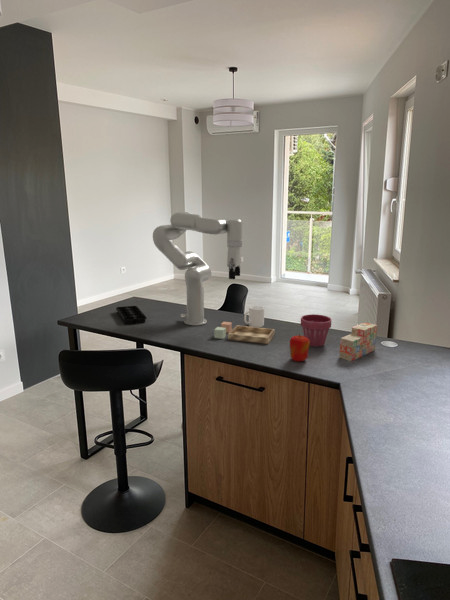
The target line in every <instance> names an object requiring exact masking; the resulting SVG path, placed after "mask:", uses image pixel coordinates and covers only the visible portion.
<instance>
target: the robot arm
mask: <svg viewBox="0 0 450 600" xmlns="http://www.w3.org/2000/svg"><path fill="white" fill-rule="evenodd" d="M169 219H170V222H169V223H170V224H164V225H159V226H156V228H155V229H153V232H152V241H153V244H154V246H155V247H156V249H158V250H159V252H161V253H162V255H164V256H165V257H166V258H167V259H168V261H169V262H170V263H171V264H173V265H174V267H176V268H177V269H178V270H180V271H185V273H184V282H185V286H186V287H185V289H186V291H185V292H186V314H185V313H180V319H184V320H183V323H184V324H185V325H187V326H203V325H206V324H207V322H208V321H207V319H206V318H205V290H204V286H203V282H207V281H208V280H209V279H210V278H211V276H212V270H211V267H210V266H209V265H208V264H207V262H205V261H204V260H203V259H202V258H201V257H200V256H199V255H198V254H197V253H195V252H193V251H183V250H182V249H181V248H179V247H178V245H177V244H175V243H174V242H172V241H173V240H177V239H178V238H180V237H181V236H182V235H183V234H185V232H186V231H193V232H198V233H202V234H207V235H208V234H209V235H221V234H223V235H224V234H226V239H227V240H226V241H227V242H226V243H227V244H226V247H227V259H226V265H227V267H228V279H229V280H235V279H236V277H240V276H241V261H242V260H241V259H242V258H241V256H242V255H241V248H243V222H242V220H241V219H228V218H214V219H213V218H207V217H202V216H201V215H200V214H195V213H193V214H192V213H189V212H187V211H185V212H184V211H183V212H182V211H181V212H179V211H178V212H175V213H173V214H172V215H171V217H170V218H169Z"/></svg>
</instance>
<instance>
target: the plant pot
mask: <svg viewBox="0 0 450 600" xmlns="http://www.w3.org/2000/svg"><path fill="white" fill-rule="evenodd" d="M300 326H301V327H302V332H303V336H304V337H307V338H308V339H309V341H310V344H309V347H314V348H315V347H323V346H325V344H326V340H327V336H328V335H329V334H328V333H329V330H330V329H331V328H332V318H331V317H329V316H327V315H323V314H315V313H314V314H305V315H302V316H301V317H300Z"/></svg>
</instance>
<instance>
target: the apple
mask: <svg viewBox="0 0 450 600" xmlns="http://www.w3.org/2000/svg"><path fill="white" fill-rule="evenodd" d="M309 344H310V341H309V339H308V338H307V337H304V335H301V334H300V333H299V335H294V336H291V338H290V339H289V347H290V349H289V350H290V358H291V359H292V360H293V361H294V362H304V361H305V360H307V359H308V357H309V356H308V355H309V348H310V346H309Z"/></svg>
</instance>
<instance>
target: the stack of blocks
mask: <svg viewBox="0 0 450 600" xmlns="http://www.w3.org/2000/svg"><path fill="white" fill-rule="evenodd" d="M377 331H378V324H374V323H368V322H362V323H359V324H357V325H354V326H352V327H351V334H348V335H345V336H342V337H340V344H339V353H338V357H339V359H342V360H347V361H349V362H352V361H353V362H354V361H355V360H358V359H359V358H361V357H363V356H365V355H367V354H369V353H371V352H374V351H376V344H377V343H376V341H377V340H376V339H377V333H378V332H377Z"/></svg>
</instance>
